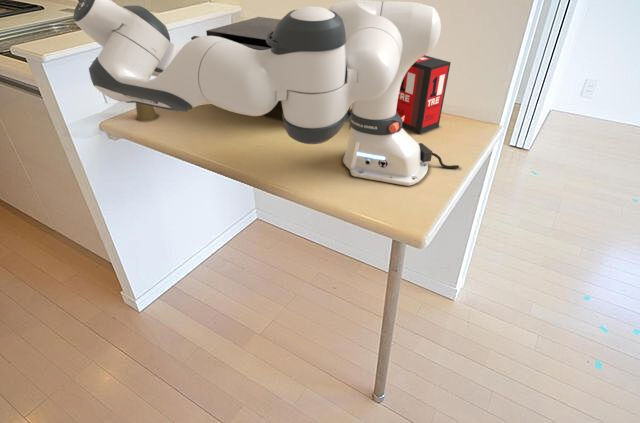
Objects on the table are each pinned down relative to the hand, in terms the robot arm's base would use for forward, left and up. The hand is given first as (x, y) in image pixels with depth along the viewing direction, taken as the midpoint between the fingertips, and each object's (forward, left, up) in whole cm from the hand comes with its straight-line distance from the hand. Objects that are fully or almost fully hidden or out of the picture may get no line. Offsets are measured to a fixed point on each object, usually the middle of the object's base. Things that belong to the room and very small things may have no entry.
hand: (184, 83), depth 104 cm
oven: (0, -44, -19) cm, 48 cm away
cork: (+30, -8, -19) cm, 36 cm away
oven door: (0, -27, -19) cm, 33 cm away
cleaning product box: (-46, -49, -19) cm, 70 cm away
